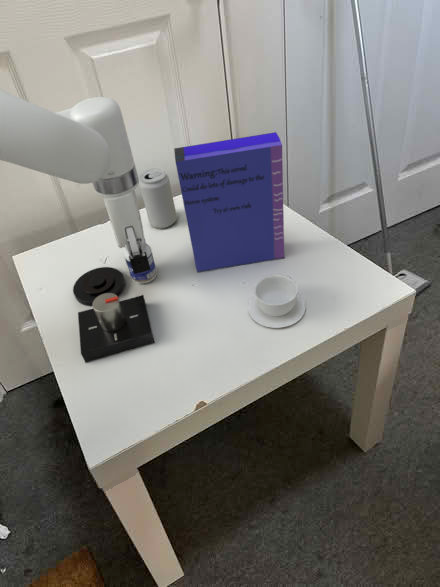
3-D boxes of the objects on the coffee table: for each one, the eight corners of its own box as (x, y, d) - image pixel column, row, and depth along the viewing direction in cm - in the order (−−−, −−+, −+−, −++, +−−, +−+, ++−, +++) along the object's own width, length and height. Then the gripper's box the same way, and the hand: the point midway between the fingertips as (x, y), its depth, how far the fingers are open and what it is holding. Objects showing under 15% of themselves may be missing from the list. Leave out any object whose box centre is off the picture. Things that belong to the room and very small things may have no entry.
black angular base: (85, 362, 77) (80, 353, 75) (82, 321, 84) (77, 311, 82) (155, 343, 78) (151, 332, 76) (146, 304, 85) (143, 294, 83)
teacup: (289, 337, 76) (289, 318, 72) (238, 317, 80) (235, 298, 77) (314, 299, 81) (315, 279, 78) (265, 282, 86) (264, 263, 83)
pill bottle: (129, 271, 92) (117, 235, 86) (154, 263, 93) (145, 228, 87) (133, 287, 89) (122, 251, 83) (160, 280, 89) (150, 243, 83)
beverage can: (146, 219, 106) (133, 172, 97) (171, 210, 107) (161, 163, 99) (155, 233, 101) (142, 185, 93) (181, 224, 103) (172, 176, 94)
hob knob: (102, 334, 77) (92, 313, 74) (99, 317, 81) (90, 295, 77) (127, 327, 78) (119, 306, 74) (124, 310, 81) (116, 288, 77)
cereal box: (279, 243, 94) (276, 131, 77) (284, 258, 90) (282, 143, 74) (195, 257, 94) (173, 147, 77) (197, 272, 90) (175, 160, 74)
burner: (76, 312, 86) (72, 303, 84) (73, 278, 93) (70, 270, 92) (128, 298, 87) (125, 289, 86) (122, 266, 94) (119, 258, 93)
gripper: (89, 160, 82) (116, 241, 94) (96, 209, 69) (126, 295, 82) (130, 150, 83) (151, 232, 95) (144, 197, 70) (167, 284, 83)
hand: (139, 260), depth 88 cm, fingers closed on pill bottle, 5 cm apart
